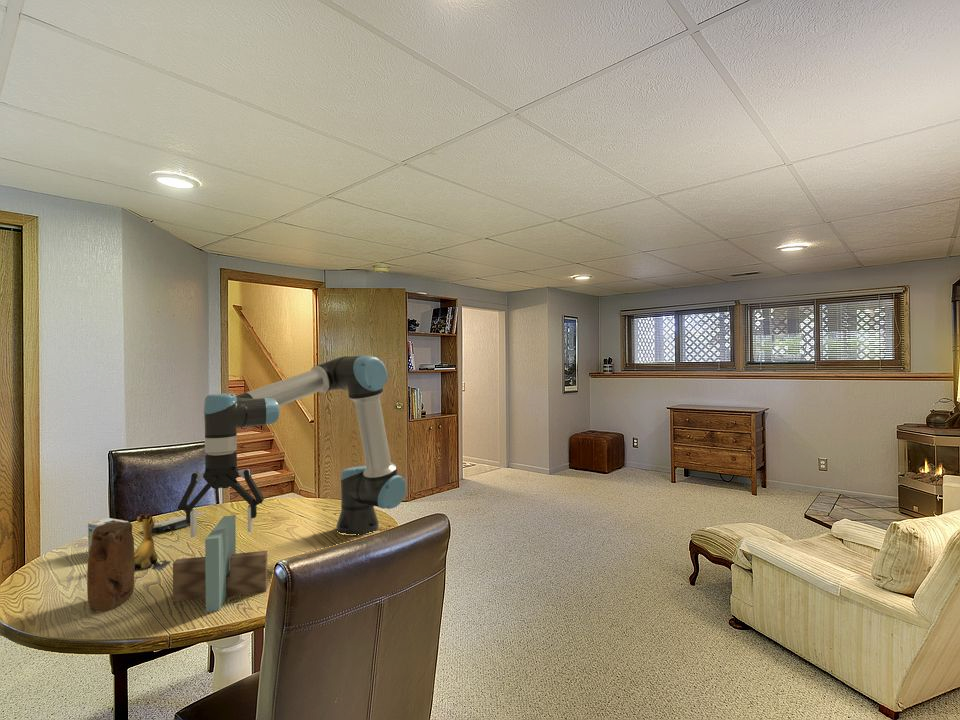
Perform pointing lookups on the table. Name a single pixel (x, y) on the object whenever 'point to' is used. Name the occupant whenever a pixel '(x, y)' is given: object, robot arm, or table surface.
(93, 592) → the block
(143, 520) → the stuffed giraffe
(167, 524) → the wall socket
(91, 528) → the light bulb box
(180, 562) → the walnut slotted board
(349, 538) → the table surface
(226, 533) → the teal slotted plate
